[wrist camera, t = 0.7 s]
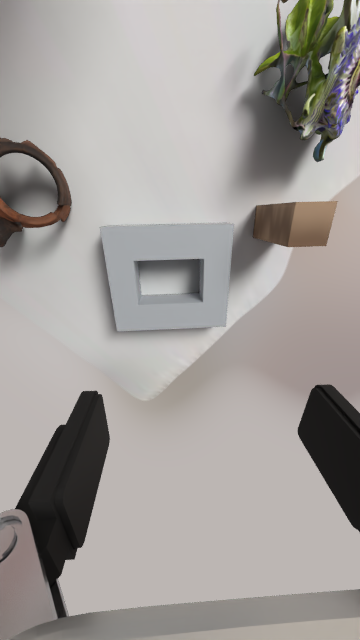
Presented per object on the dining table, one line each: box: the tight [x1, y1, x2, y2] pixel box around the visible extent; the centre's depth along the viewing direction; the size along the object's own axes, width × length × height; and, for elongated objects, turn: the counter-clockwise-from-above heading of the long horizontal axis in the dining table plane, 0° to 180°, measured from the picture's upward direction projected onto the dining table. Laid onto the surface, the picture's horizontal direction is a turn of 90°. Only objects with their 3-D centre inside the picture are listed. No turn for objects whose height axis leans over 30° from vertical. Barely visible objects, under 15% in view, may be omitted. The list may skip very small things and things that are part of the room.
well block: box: [100, 223, 234, 331], centre depth 31 cm, size 14×16×4 cm
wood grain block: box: [253, 201, 337, 247], centre depth 26 cm, size 4×4×10 cm
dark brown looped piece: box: [0, 138, 72, 247], centre depth 26 cm, size 12×10×8 cm
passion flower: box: [254, 0, 360, 162], centre depth 22 cm, size 11×11×12 cm
